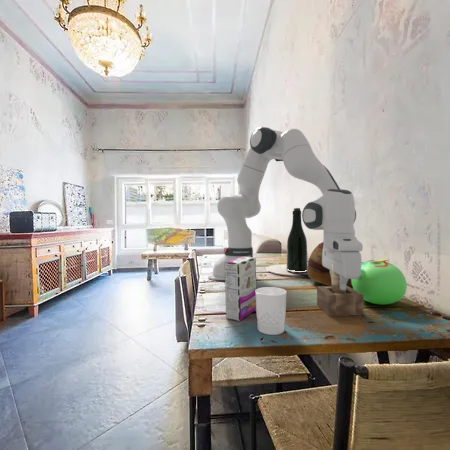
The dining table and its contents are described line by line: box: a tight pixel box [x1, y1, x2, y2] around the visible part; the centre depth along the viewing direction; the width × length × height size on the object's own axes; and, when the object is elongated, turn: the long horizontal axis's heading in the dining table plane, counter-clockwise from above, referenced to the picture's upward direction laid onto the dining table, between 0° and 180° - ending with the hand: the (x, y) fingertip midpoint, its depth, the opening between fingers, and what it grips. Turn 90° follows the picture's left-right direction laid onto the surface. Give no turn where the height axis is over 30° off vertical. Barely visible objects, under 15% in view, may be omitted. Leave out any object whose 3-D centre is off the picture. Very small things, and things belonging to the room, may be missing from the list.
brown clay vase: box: [307, 241, 352, 286], centre depth 115 cm, size 20×20×30 cm
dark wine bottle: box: [286, 207, 308, 271], centre depth 141 cm, size 10×10×33 cm
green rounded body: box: [351, 258, 408, 306], centre depth 90 cm, size 18×17×15 cm
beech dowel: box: [332, 264, 346, 293], centre depth 83 cm, size 4×4×12 cm
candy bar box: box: [224, 256, 257, 322], centre depth 80 cm, size 11×5×16 cm, turn 148°
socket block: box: [316, 285, 364, 317], centre depth 83 cm, size 10×10×6 cm
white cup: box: [255, 286, 288, 336], centre depth 69 cm, size 8×8×10 cm
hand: (338, 286), depth 83 cm, fingers closed on beech dowel, 4 cm apart
